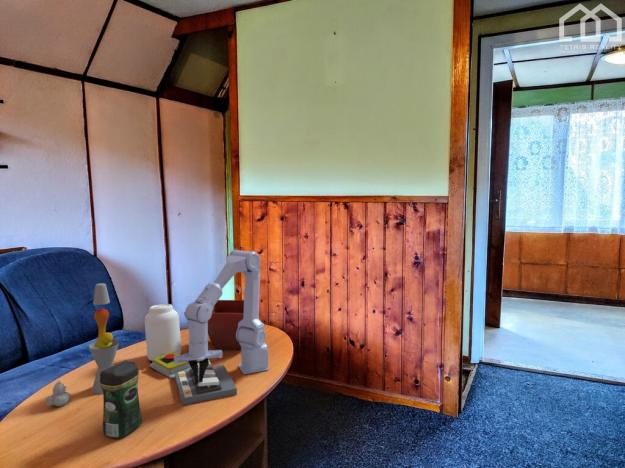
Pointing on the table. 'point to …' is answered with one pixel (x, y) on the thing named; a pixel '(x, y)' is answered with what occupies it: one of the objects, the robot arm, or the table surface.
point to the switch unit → (196, 393)
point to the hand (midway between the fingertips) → (198, 382)
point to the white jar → (162, 331)
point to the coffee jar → (120, 399)
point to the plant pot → (225, 324)
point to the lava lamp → (102, 337)
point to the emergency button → (169, 365)
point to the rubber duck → (58, 395)
